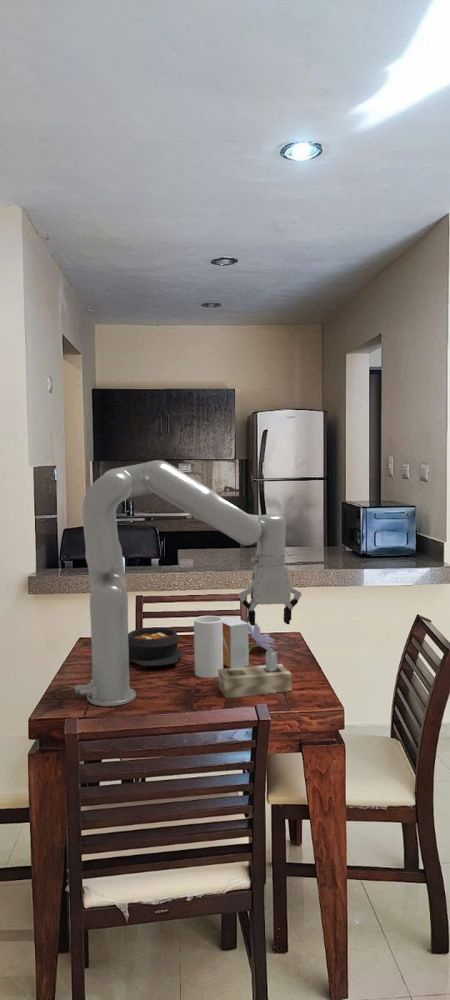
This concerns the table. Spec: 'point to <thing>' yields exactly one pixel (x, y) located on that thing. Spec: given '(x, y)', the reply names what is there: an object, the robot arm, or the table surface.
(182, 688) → the table surface
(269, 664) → the peg
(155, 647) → the casserole
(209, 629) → the cup
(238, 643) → the small box
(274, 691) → the hole block
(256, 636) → the water lily
